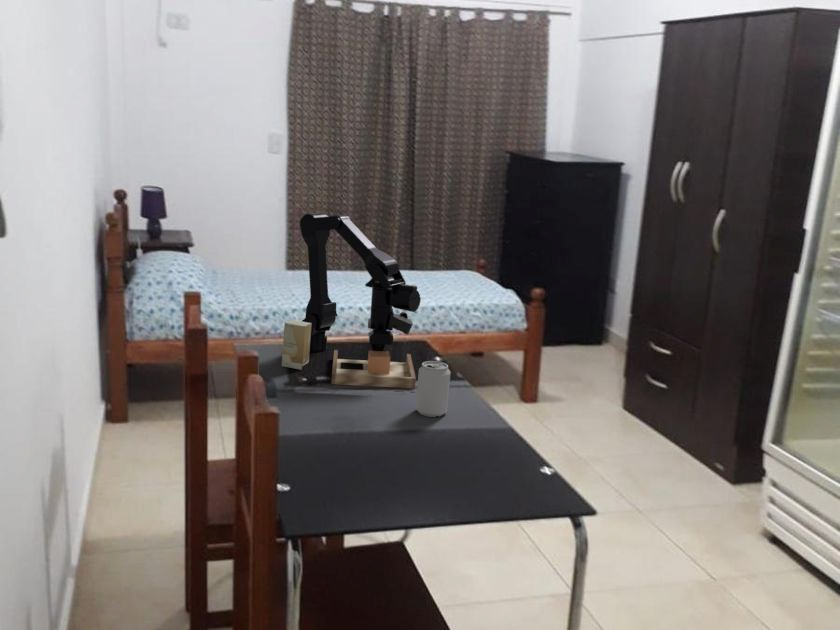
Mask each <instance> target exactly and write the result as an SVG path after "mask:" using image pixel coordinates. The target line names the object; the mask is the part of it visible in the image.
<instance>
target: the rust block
mask: <svg viewBox="0 0 840 630" xmlns="http://www.w3.org/2000/svg"><path fill="white" fill-rule="evenodd" d="M390 353H391V352H390V351H387V350H385V351H384V350H383V351H373V350H368V357H367V361H368V373H384V374H389V371H390V362H391V354H390Z"/></svg>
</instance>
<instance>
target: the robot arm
mask: <svg viewBox="0 0 840 630" xmlns="http://www.w3.org/2000/svg"><path fill="white" fill-rule="evenodd" d="M299 229H300V232H301V237H302V239H303V240H304V242H305V245H306V246H307V258H308V273H309V274H308V275H309V277H308V278H309V290H310V296H309V300H308V303H307V305H306V307H305V316H304V317H305V318H304V319H302V321H303V322H307V323H312V325H311V338H310V351H309V352H311V353H315V352H324V351H325V352H326V351H327V348H328V336H327V335H326V332H327V331H330V330H331V328H332V326H333V324H334V323H335V322H336V319H337V318H336V317H338V313H337V302H336V301H333V302H332V300H331V298H330V296H329V286H328V284H329V283H328V270H327V268H328V266H327V250H326V249H327V248H326V245H327V243H328V240H329V237H330V235H331V230H334V231H336V233H338V235H339V236H341V238H342V239H343V240H344V241H345V242H346V243H347V244H348V245H349V246H350V248H351V249H352V250H353V251H354V252H355V253H356V254H357V255H358V256H359V257H360V259H361V261H363V263H364V267H365V268H364V269H365V270H366V271H367V273H368V275H369V276H370V280H369V281H368V282H366V283H365V284H364V285H365V287H368V288H371V302H370V304H371V305H370V317H369V319H368V320H367V329H370V330H371V331H370V332H368V343H369V344H370V346H371V349H372V350H371V351H384V350H385V347H386V345H388V346H393V345H394V334H393V333H392V331H394V329H395V330H397V331H399V332H402V333H403V334H404V335H407V336H408V335H409V334H410V332H411V329H412V327H413V321H412V320H411V318H408V317H409V316H408V313H407V312H412V313H415V312H416V311H417V310H418V309H419V307H420V305H421V300H422V297H421V295H420V291H418V286H417V285H413V284H406V280H405V279H404V276H403V275H402V272H401V270H400V269H399V264H398V261H397V260H396V259H395V258H393V257H392V256H391V255H389V254H388V253H386V252H384V251H382V250H380V249H378V248H377V247H376V246H375V244H373V243H372V242H371V240H369V238H367V236H366V235H365V234H364V233H363V232H362V231H361V230H360V229H359V228H358V227H357V226H356V224H354V222H352V221H351V219H350V217H349V216H348V215H347V214H336V215H327V214H326V213H324V212H315V213H306V214H303V216H302V217H301V218H300V220H299ZM394 309H397V310H401V312H400V313H397V314H396V313H395V312H394ZM405 311H406V312H405Z"/></svg>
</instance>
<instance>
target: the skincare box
mask: <svg viewBox="0 0 840 630" xmlns="http://www.w3.org/2000/svg"><path fill="white" fill-rule="evenodd" d="M311 325H312V323H307V322H303V320H294V319H290V320H287V321H285V322H284V327H283V340H282V343H283V344H282V354H281V355H282V356H281V367H283V368H284V367H285V368H291V369H295V370H300V371H301V370H303V366H305V365H306V364H308V363H309V361H310V352H311V351H310V338H311Z"/></svg>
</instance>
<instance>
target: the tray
mask: <svg viewBox="0 0 840 630" xmlns="http://www.w3.org/2000/svg"><path fill="white" fill-rule="evenodd" d="M338 355H339V351H338V349H334V351H333V361H332V370H331V371H332V372H331V382H330V383H331V385H345V386H364V387H379V388H380V387H381V388H384V387H385V388H403V389H415V388H416V381H417V380H416V379H417V378H416V373H415V368H414V364H413V363H414V362H413V360H412V355H411V353H407V354H406V361H405V362H399V361H390V371H389V374H384V373H368V360H363V359H362V360H361V359H344V358H338ZM342 363H344V364H345V363H346V364H347V363H348V364H362V369H351V368H350V369H348V368H347V369H346V368H341V366H342ZM357 389H358V388H357ZM357 391H363V389H361V388H359V389H358V390H357ZM394 391H395V393H403V391H401V390H400V391H399V390H394ZM411 393H416V392H415V391H411Z"/></svg>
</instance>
